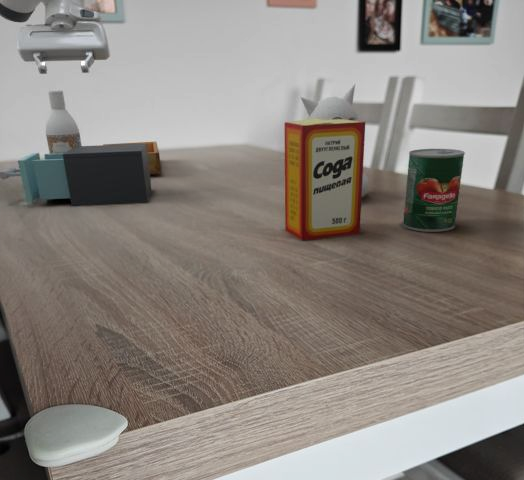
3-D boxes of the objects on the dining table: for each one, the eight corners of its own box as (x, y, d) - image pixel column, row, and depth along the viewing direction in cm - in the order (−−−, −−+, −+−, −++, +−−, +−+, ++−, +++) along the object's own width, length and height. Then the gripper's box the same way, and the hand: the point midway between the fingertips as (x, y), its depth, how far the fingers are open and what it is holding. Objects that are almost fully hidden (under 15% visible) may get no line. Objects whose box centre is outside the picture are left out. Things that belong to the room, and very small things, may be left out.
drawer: (1, 203, 106) (-9, 161, 103) (17, 192, 117) (9, 153, 113) (97, 199, 108) (90, 157, 105) (105, 188, 118) (99, 150, 115)
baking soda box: (339, 223, 89) (343, 116, 82) (359, 233, 83) (365, 119, 76) (285, 230, 86) (284, 119, 79) (302, 240, 81) (302, 122, 74)
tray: (105, 163, 161) (102, 142, 158) (158, 160, 163) (156, 139, 161) (98, 180, 134) (95, 155, 131) (161, 176, 136) (159, 152, 134)
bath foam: (52, 191, 122) (33, 91, 113) (61, 185, 128) (43, 90, 119) (84, 190, 122) (67, 90, 113) (91, 184, 128) (76, 89, 119)
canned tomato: (429, 235, 82) (438, 156, 77) (392, 224, 88) (397, 151, 83) (466, 226, 85) (476, 151, 80) (427, 217, 91) (434, 147, 86)
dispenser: (71, 205, 107) (62, 153, 103) (83, 193, 119) (75, 146, 114) (147, 202, 109) (141, 150, 104) (151, 190, 120) (146, 143, 116)
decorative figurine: (303, 208, 100) (304, 86, 91) (284, 193, 113) (283, 85, 104) (380, 202, 103) (388, 83, 94) (353, 188, 115) (358, 82, 107)
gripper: (14, 13, 126) (11, 60, 121) (105, 12, 127) (106, 58, 123) (23, 37, 132) (21, 83, 127) (111, 35, 133) (111, 80, 129)
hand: (63, 71), depth 125 cm, fingers open, 8 cm apart
